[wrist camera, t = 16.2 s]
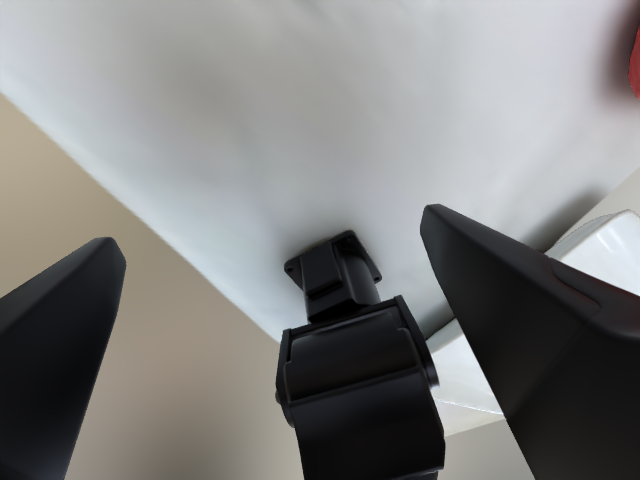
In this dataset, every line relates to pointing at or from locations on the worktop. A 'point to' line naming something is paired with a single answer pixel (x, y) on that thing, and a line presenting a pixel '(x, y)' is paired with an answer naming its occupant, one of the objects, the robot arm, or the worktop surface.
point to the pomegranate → (635, 66)
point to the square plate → (574, 250)
